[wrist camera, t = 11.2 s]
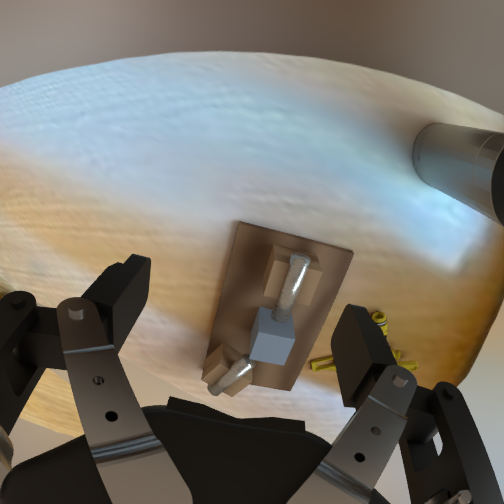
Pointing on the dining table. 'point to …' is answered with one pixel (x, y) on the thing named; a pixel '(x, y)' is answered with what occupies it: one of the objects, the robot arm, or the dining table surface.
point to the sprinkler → (382, 323)
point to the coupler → (271, 338)
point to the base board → (271, 303)
